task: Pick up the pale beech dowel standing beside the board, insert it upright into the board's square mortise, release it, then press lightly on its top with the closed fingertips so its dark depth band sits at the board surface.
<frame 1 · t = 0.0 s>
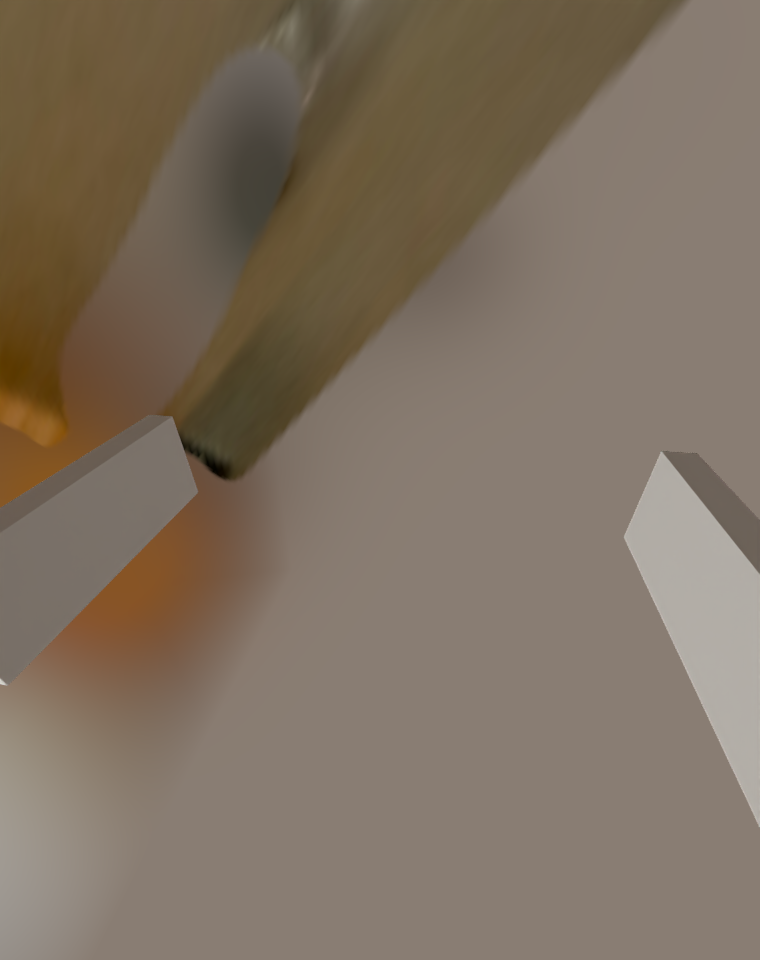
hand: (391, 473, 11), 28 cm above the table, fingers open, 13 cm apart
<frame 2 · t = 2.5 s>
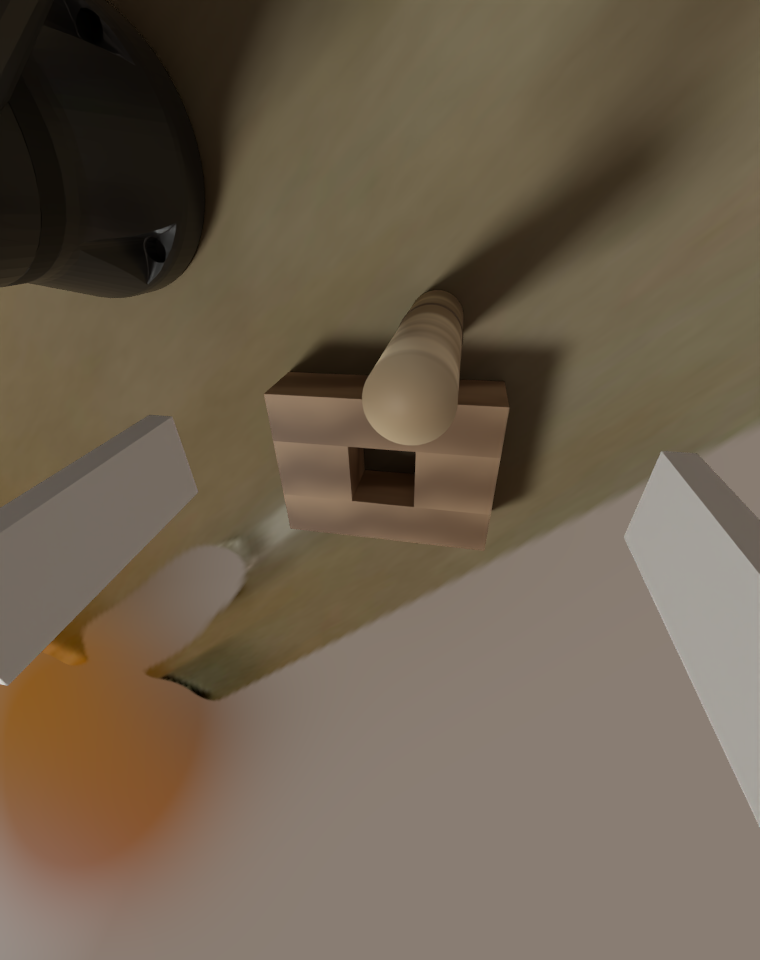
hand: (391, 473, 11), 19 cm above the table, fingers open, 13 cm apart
dowel: (435, 319, 26), on the table
board: (392, 447, 32), on the table
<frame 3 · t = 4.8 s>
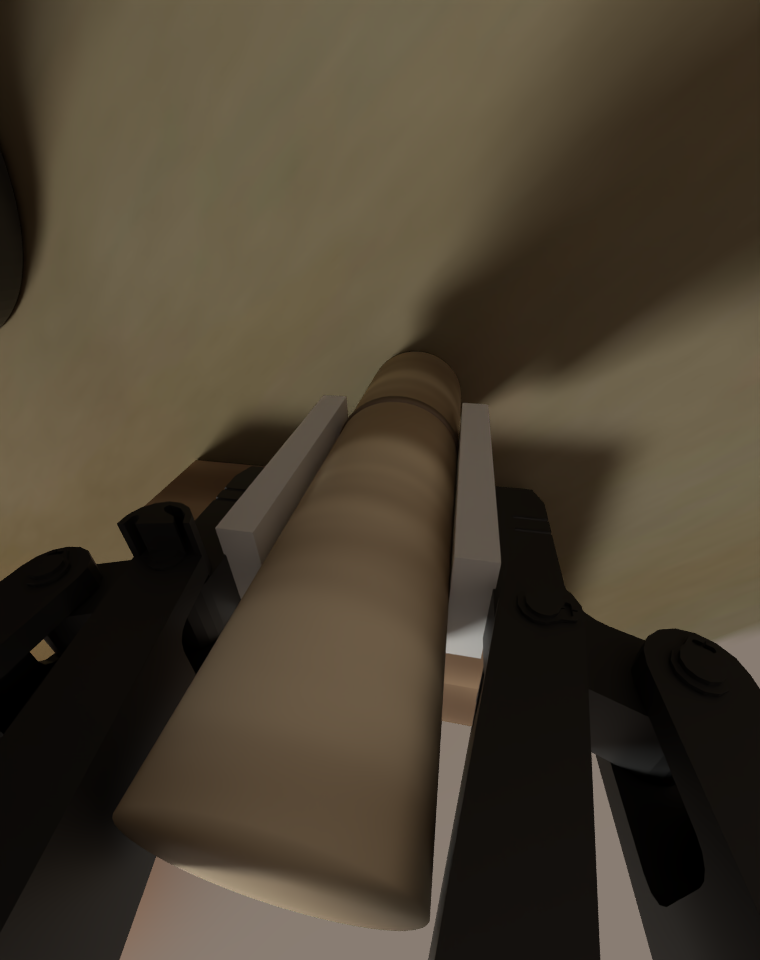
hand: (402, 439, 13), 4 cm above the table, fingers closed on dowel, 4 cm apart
dowel: (415, 396, 16), on the table, touching gripper
board: (356, 564, 22), on the table
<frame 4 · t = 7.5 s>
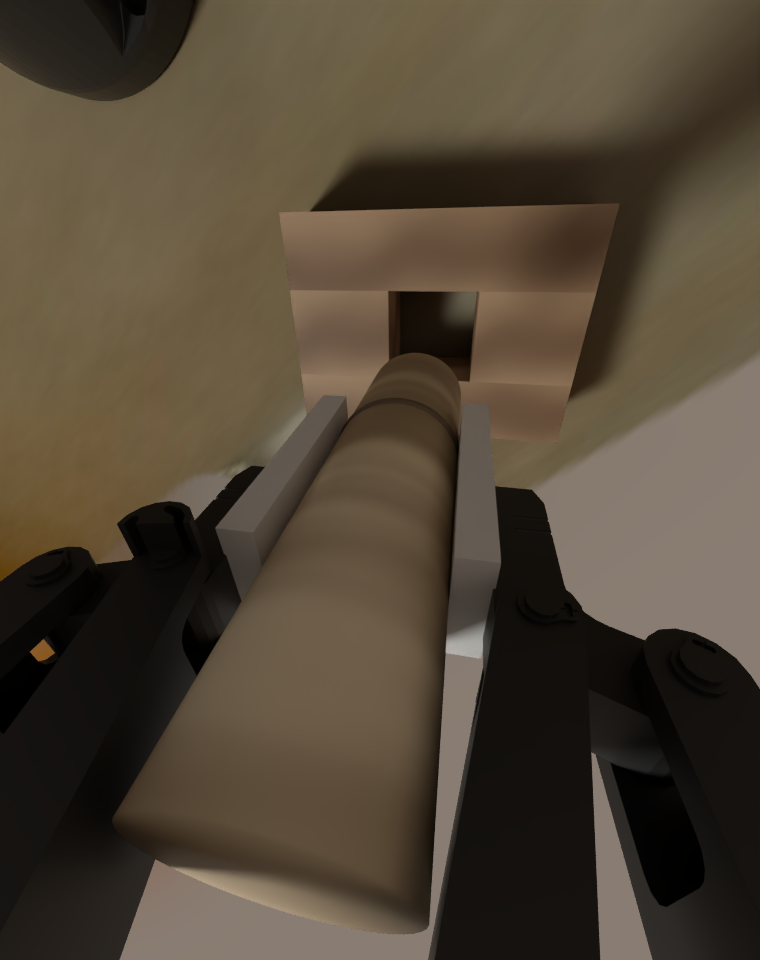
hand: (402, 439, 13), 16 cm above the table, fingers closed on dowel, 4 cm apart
dowel: (415, 398, 16), point 12 cm above the table, touching gripper
board: (436, 320, 26), on the table
when the fingers open (5 cm above the table, at t = 10.2 s): dowel drops 1 cm, resting in board.
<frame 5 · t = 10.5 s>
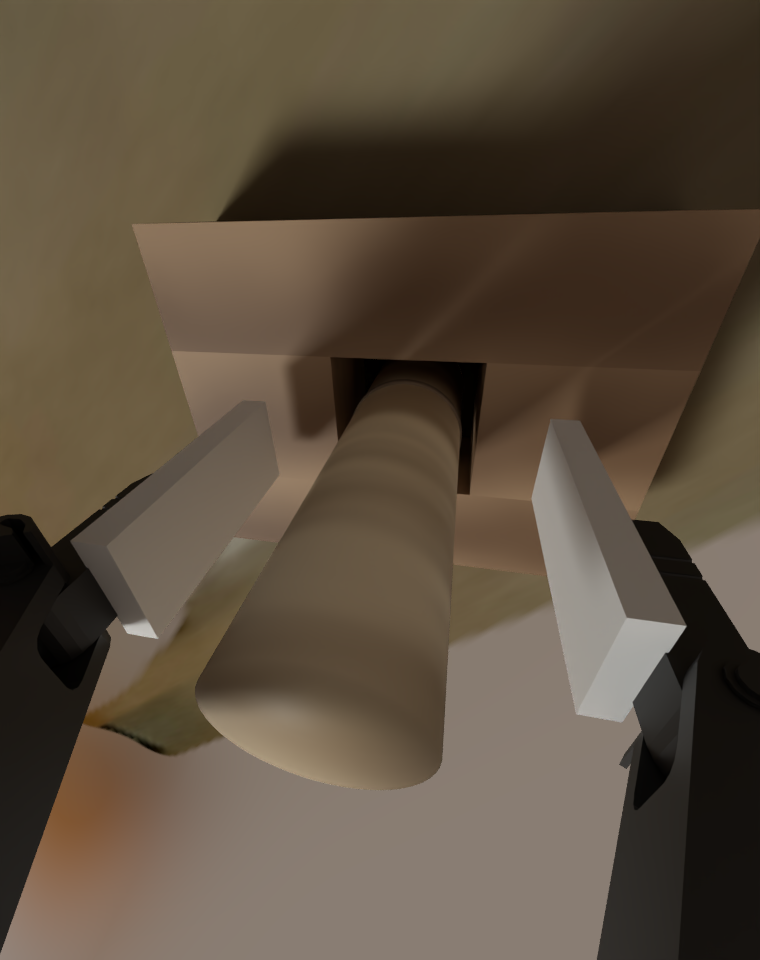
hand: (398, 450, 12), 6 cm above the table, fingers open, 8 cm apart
dowel: (420, 384, 17), resting in board
board: (419, 383, 17), on the table
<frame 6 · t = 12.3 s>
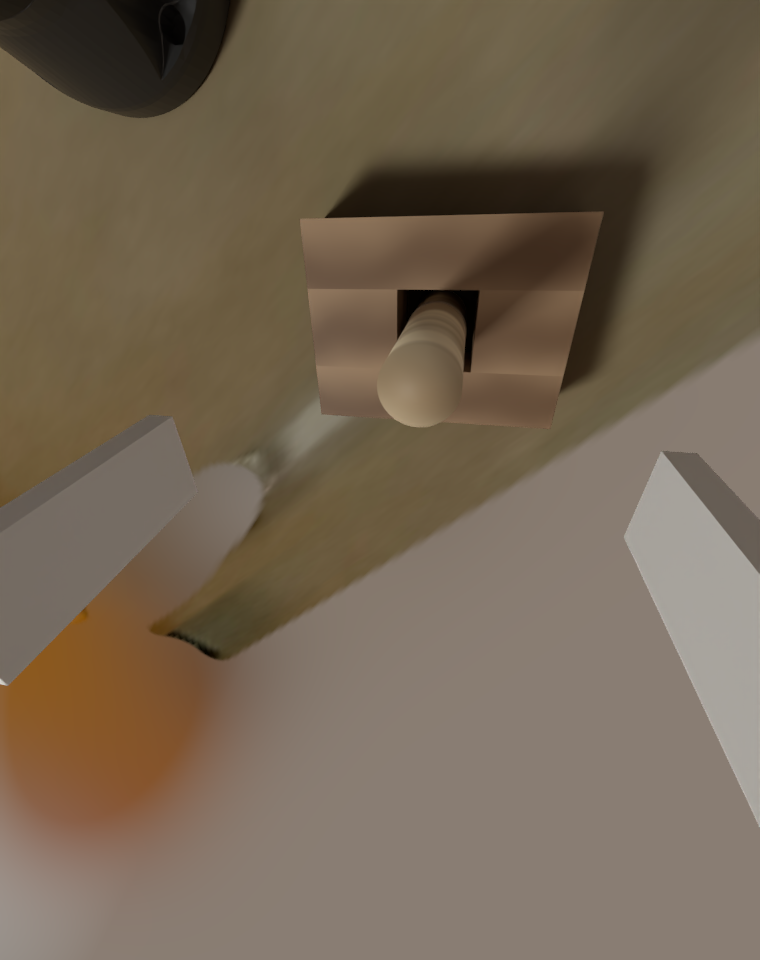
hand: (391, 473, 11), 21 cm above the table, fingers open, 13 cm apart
dowel: (440, 317, 28), resting in board
board: (440, 316, 28), on the table
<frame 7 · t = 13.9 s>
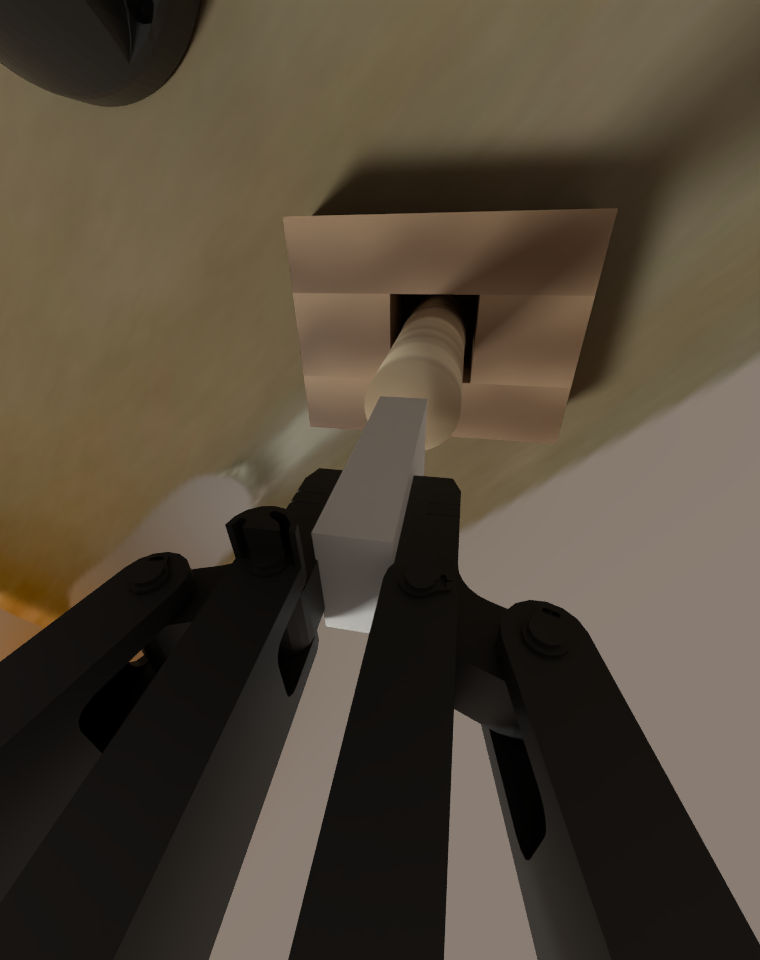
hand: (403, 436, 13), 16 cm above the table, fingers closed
dowel: (438, 322, 26), resting in board
board: (437, 322, 26), on the table
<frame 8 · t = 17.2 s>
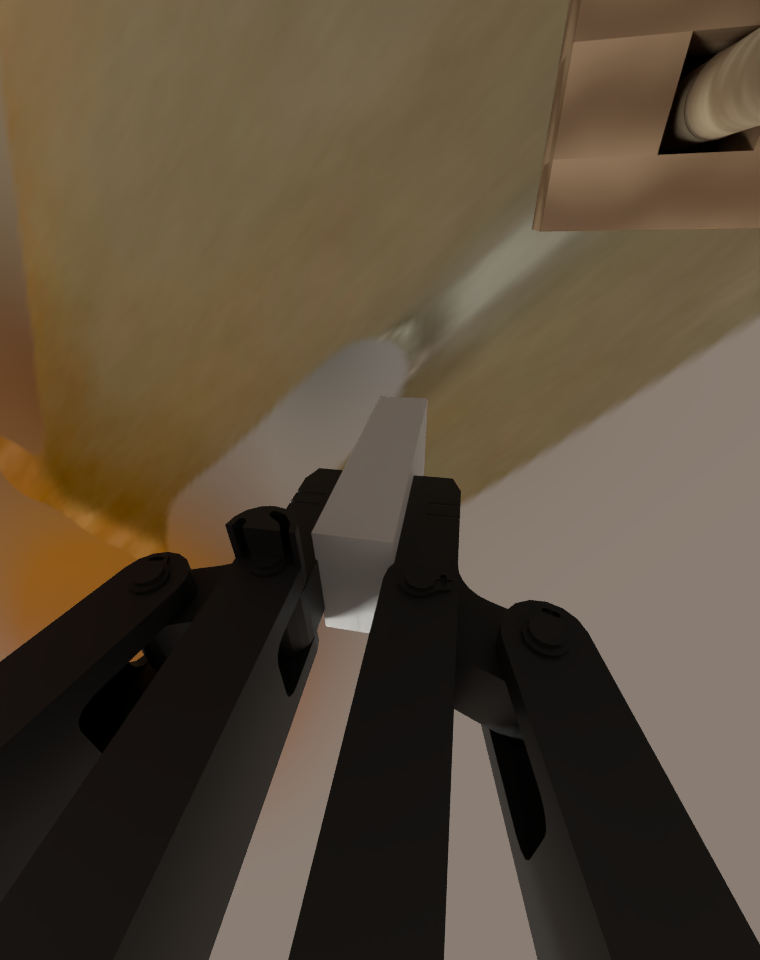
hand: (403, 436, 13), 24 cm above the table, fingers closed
dowel: (687, 112, 24), resting in board
board: (686, 111, 24), on the table
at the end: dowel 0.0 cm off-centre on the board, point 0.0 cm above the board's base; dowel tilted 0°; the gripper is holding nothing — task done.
